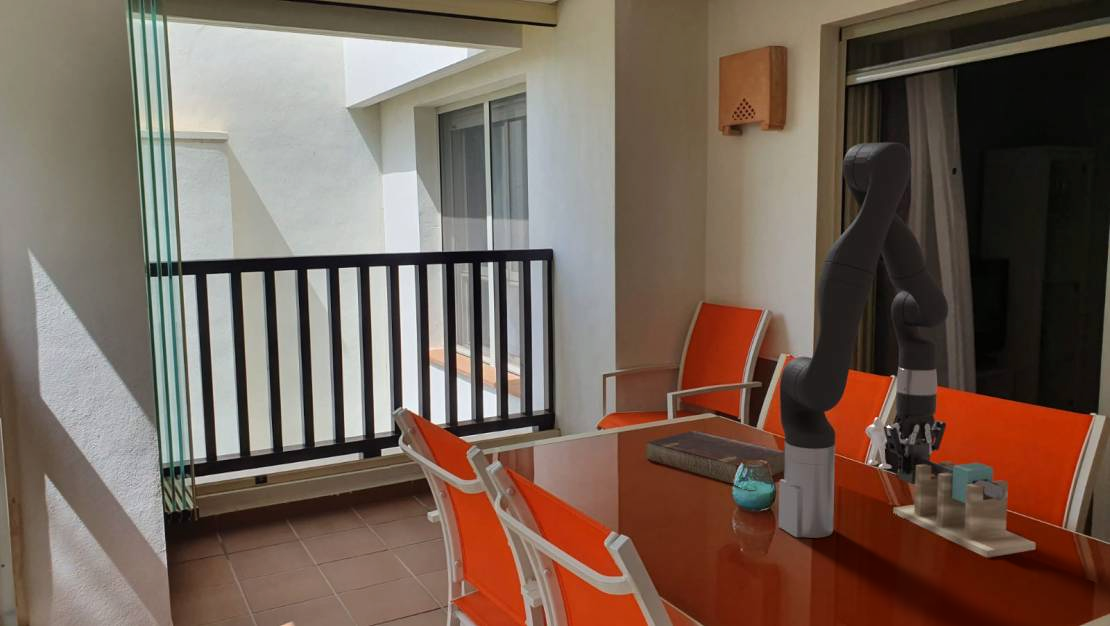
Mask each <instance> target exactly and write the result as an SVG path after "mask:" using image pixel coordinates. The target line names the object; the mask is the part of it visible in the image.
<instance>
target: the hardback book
mask: <svg viewBox="0 0 1110 626" xmlns="http://www.w3.org/2000/svg"><path fill="white" fill-rule="evenodd" d="M784 452H785V450H780V449H776V448H773V447H768V446H767V447H766V446H763V445H759V444H755V443H750V442H746V441H741V440H737V439H733V438H728V437H724V436H719V435H715V434H712V433H706V432H703V431H698V430H692V431H691V430H690V431H687V432H683V433H679V434H674V435H670V436H666V437H662V438H658V439H657V438H656V439H652V440H649V441H646V460H647V459H651V460H654V461H659V462H661V463H665V464H668V465H671V466H670V467H672V466H674V467H673V468H675V467H678V468H677V469H679V468H681V469H680V470H683V469H685V470H684V471H686V470H687V472H690V471H691V472H690V473H693V472H694V474H697V473H698V474H697V475H701V476H704V477H708V478H712V479H716V480H719V481H723V482H726V483H730V484H733V483H732V482H733V479H734V476H735V474H736V472H737V469H738V467H739V466H740V464H741V462H742V461H743V460H764V461H767V462H768V464H769V467H770V469H771V472H772V474H773V475H772V476H774V475H775V476H776V475H777V474H780V473H782V472H783V473H784ZM654 461H653V462H654ZM661 463H660V464H661ZM665 464H664V465H665ZM668 465H667V466H668Z"/></svg>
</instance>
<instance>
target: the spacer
mask: <svg viewBox="0 0 1110 626" xmlns="http://www.w3.org/2000/svg"><path fill="white" fill-rule="evenodd" d="M993 477H994V467H992V466H989V465H986V464H984V463H980V462H971V463H965V464H963V463H962V464H955V466H953V487H952V498H954V499H956V500H959V501H961V502H964V503H966V486H967V485H968V484H973V481H976V480H983V481H986V482H989V483H991V481H994V479H993ZM984 496H986V495H983V497H984Z"/></svg>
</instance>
